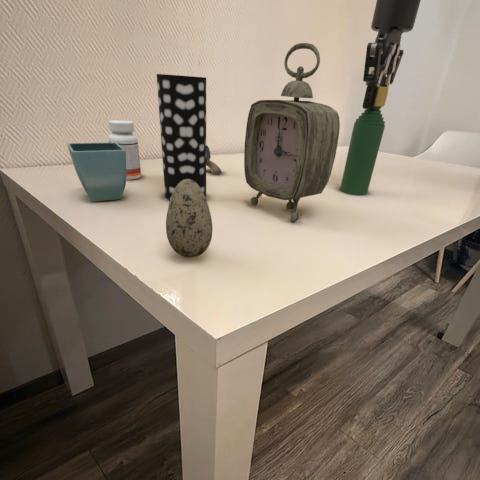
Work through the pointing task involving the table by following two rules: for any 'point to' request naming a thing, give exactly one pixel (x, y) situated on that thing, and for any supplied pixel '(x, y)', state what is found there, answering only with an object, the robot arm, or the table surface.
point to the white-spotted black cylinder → (182, 129)
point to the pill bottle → (126, 146)
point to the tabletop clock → (291, 142)
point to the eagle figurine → (212, 163)
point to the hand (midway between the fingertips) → (371, 108)
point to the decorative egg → (188, 220)
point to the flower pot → (100, 169)
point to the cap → (381, 96)
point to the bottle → (363, 152)
